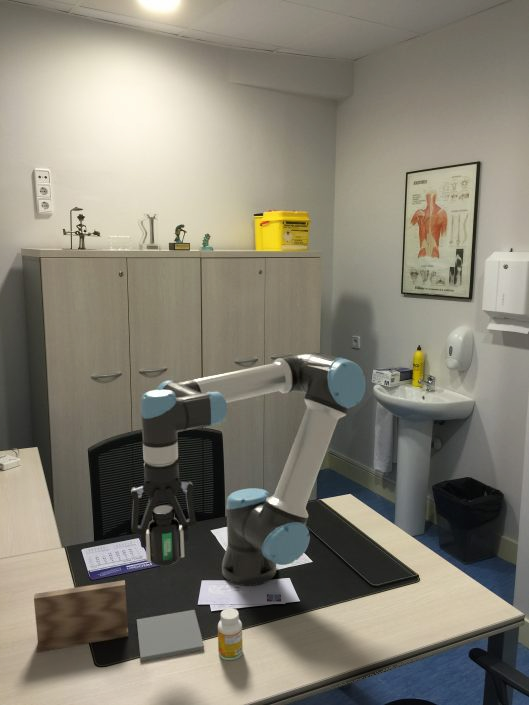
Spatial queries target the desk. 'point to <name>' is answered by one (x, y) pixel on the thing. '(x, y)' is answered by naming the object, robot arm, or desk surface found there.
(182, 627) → the slate mat
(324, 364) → the robot arm
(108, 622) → the walnut screen
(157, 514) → the supplement bottle
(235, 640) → the supplement bottle
